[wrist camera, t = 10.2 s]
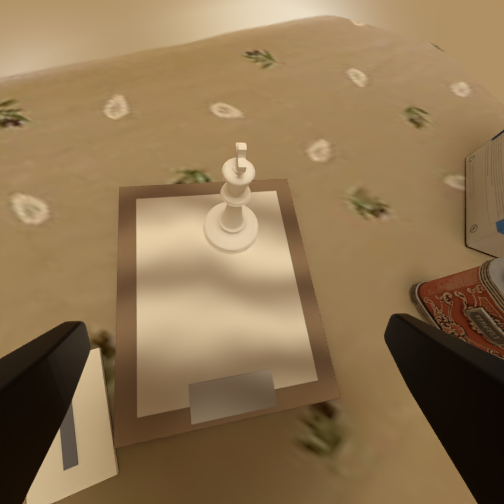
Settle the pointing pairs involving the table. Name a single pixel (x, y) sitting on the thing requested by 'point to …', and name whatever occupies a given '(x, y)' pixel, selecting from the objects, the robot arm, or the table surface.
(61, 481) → the plate
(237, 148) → the chess piece
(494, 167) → the string lights box
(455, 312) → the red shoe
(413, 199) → the table surface
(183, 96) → the table surface
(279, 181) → the clipboard
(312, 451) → the table surface
